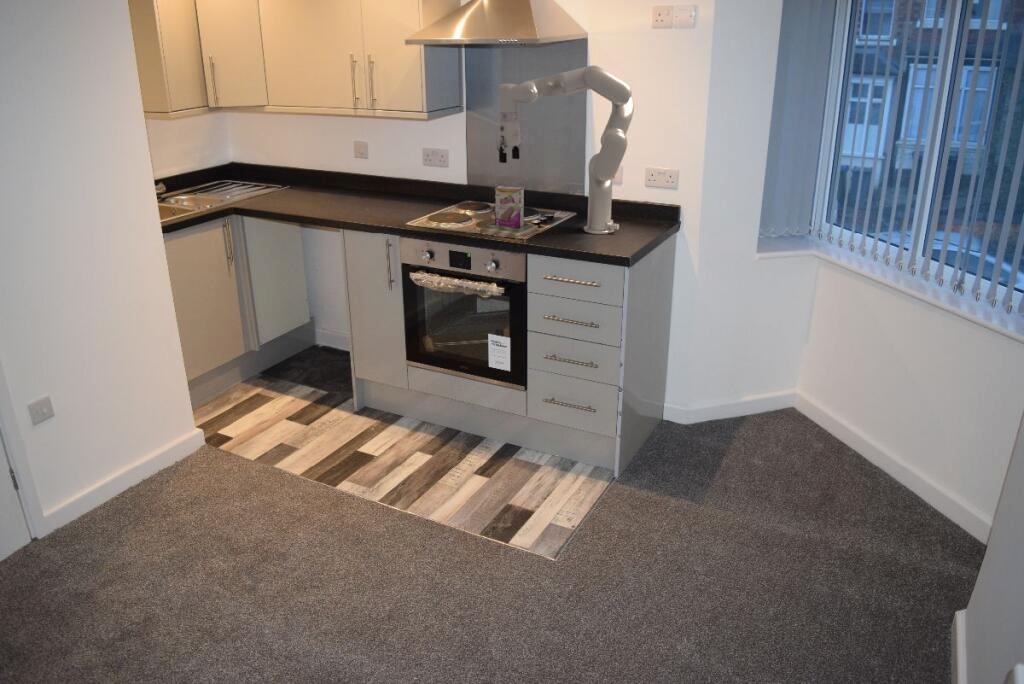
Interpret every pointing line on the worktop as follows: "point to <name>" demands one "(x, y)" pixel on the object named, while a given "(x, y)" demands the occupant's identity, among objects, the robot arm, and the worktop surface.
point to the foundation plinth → (508, 230)
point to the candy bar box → (509, 207)
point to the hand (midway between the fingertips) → (509, 160)
